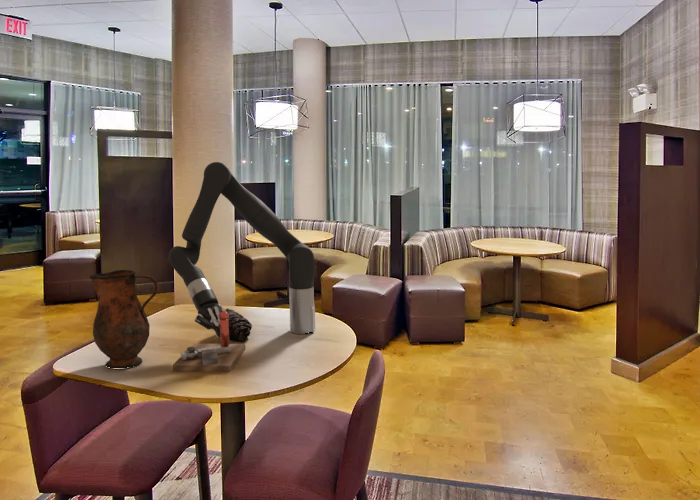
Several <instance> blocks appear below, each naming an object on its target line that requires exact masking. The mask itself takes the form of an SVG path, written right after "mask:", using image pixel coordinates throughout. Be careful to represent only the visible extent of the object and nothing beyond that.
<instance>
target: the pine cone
mask: <svg viewBox="0 0 700 500" xmlns="http://www.w3.org/2000/svg"><path fill="white" fill-rule="evenodd" d="M228 309H229V310H230V311H229V317H228V323H229V342H230V341H232V342H235V343H236V344H246V343H247V342H248V341H249V336H250V335H251V330H252V328H253V324H252V323H251V322H250V321H249V320H248V319H247V318H246V317H244V316H243V315H242V314H241V313H239V312H237V311H235V310H234V309H230V308H228Z"/></svg>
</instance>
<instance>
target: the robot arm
mask: <svg viewBox="0 0 700 500" xmlns="http://www.w3.org/2000/svg"><path fill="white" fill-rule="evenodd" d="M200 187H201V188H200V191H199V194H198V197H197V200H195V201H196V202H195V204H194V206H193V208H192V209H191V212H190V214H189V216H188V219H187V221H186V223H185V225H184V228H183V231H182V233H181V238H182V239H183V240H184V241H186V247H185V246H181V245H180V246H179V245H176V246H173V247H172V248H171V249H170V250H169V253H168V261H169V263H170V265H171V267H172V268H173V269H174V271H176V273H177V275H179V276H180V277H181V279H182V280H183V283H184V284H185V286H186V288H187V291H188V294H189V297H190V298H191V300H192V303H193V304H194V307H195V309H196V311H197V315H196V317H195V318H194V322H195V323H197V324H198V325H200V326H202V327H204V328H205V329H207V330H213V331H214V332H215V334H216V336H217V338H219V339H220V319H219V313H220V312H221V311H226V312H228V314H229V311H230V310H229V309H230V308H224V307H222V305H221V304H220V303H219V300H218V298H217V296H216V294H215V292H214V289H213V288H212V286H211V284H210V283H209V281H208V280H207V277H206V276H205V275H204V273H203V271H202V269H201V267H199V266H196V265H197V263H198V262H199V258H200V255H201V247H202V240H203V238H204V235H205V233H206V230H207V228H208V225H209V222H210V219H211V217H212V214H213V211H214V208H215V205H216V204H217V201H218V200H219V197H220V196H221V195H222V196H223V197H224V198H225V199H226V200H227V201H229V202H230V204H231V205H232V206H233V208H234V209H236V211H237V213H239V215H240V216H241V217H242V218H243V219H244V220H245V221H246V223H247V224H248V225H249V226H250V227H252V229H253V230H255V231H256V232H257V233H258V234H260V235H261V237H263V238H265V239H266V240H267V241H268V242H271V243H272V244H273V245H274V246H275V247H277V249H278V250H279V251H280V253H282V254H283V256H285V258H286V259H287V261H288V262H289V263H288V265H289V268H288V269H289V280H288V291H289V292H288V293H289V294H288V295H289V296H288V297H289V298H288V299H289V300H288V301H289V328H290V332H291V333H292V334H296V335H306V334H305V333H308V332H314V333H315V330H316V307H315V306H316V305H315V296H314V295H315V291H314V289H315V288H314V285H315V283H314V280H315V256H314V255H315V254H314V252H313V250H312V249H311V248H310V247H309V246H307V245H306V244H305V243H303V242H302V241H300V240H299V239H298V238H297V237H296V236H294V235H293V234H292V233H291V231H289V230H288V229H287V228H286V226H285V225H284V223H283V222H282V221H281V220H280V219H279V217H278V216H277V215H276V213H274V212H273V211H272V209H271V208H270V207H268V206H267V205H266V204H265V202H263V201H262V200H261V199H260V198H259V197H257V196H256V195H255V194H254V193H252V192H250V190H248V189H247V188H245V187H244V186H243V184H241V183H240V181H239V180H238V179H237V178H236V177H235V175H234V174H233V173H232V172H231V170H230V168H229V167H228V166H227V164H225V163H223V162H220V161H213V162H210V163H209V164H207V166H206V167H205V169H204V171H203V179H202V183H201V186H200ZM314 329H315V330H314ZM308 334H309V333H308Z"/></svg>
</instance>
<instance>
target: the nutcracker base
mask: <svg viewBox="0 0 700 500" xmlns="http://www.w3.org/2000/svg"><path fill="white" fill-rule="evenodd" d="M229 344H230V346H231V351H230V352H224V353H219V354H217V350H216V349H208V350H202V357H198V358H196V359H191V360H188V359H186V360H182V358H181V356H180V357H179V358H178V359H177V360H176V361H175V362H174V363H173V364H172V367H171V368H172V372H195V373H196V372H197V373H198V372H199V373H200V372H209V373H210V372H217V373H219V372H220V373H222V372H224V373H225V372H226V373H227V372H229V373H231V372H232V370H233V368H234V367H235V365H236V364H237V363H238V361H239V360H240V358H241V357H242V355H243V354H244V352H245V351H246V350H247V349H246V343H229ZM220 345H221V343H193V344H192V345H191V346H189V347H187V348H186V351H188V352H193V351H195V349H196V350H197V349H202V348H208V347H214V346H220Z"/></svg>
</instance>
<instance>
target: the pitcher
mask: <svg viewBox="0 0 700 500" xmlns="http://www.w3.org/2000/svg"><path fill="white" fill-rule="evenodd" d="M89 278H90V280H91V282H92V285H93V288H94V289H95V294H96V296H97V301H98V303H97V309H96V314H95V317H94V319H93V320H94V321H93V328H92V336H93V341H94V343H95V345H96V347H97V348H98V349H99V351H100V352H102V353H103V354H104V355H105V356H106V357H107V358H108V359H109V360H108V361H106V362H105V365H104V366H105V367H106V366H107V367H110V368H127V367H132V368H134V367H133V366H136V367H137V365H138V366H139V364H140V365H141V364H142V363H143V358H141V357H140V356H139V354H140V353H141V351H142V350H143V349H144V347H146V345H147V342H148V339H149V337H150V326H151V325H150V323H149V320H148V319H149V318H148V317H147V314H146V312H145V308H146V306H147V305H148V304H149V302H150V301H151V300H153V298H155V296H156V295H157V294H158V292H159V290H160V289H159V288H160V285H159V282H158V279H156V278H155V277H154V276H152V275H149V274H139V275H137V276H136V271H134V270H130V269H117V270H113V271H107V272H103V273H95V274H91V275H89ZM137 278H140V279H141V278H142V279H143V278H144V279H148V280H150V281H152V282H153V284H154V292H153V293H152V294H151V295H150V296H149V298H148V299H147V300H146V301H145V302H144V303H143V304H141V302H140V300H139V298H138V295H137V289H136V280H137ZM107 367H106V368H107ZM110 368H109V369H110Z"/></svg>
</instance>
